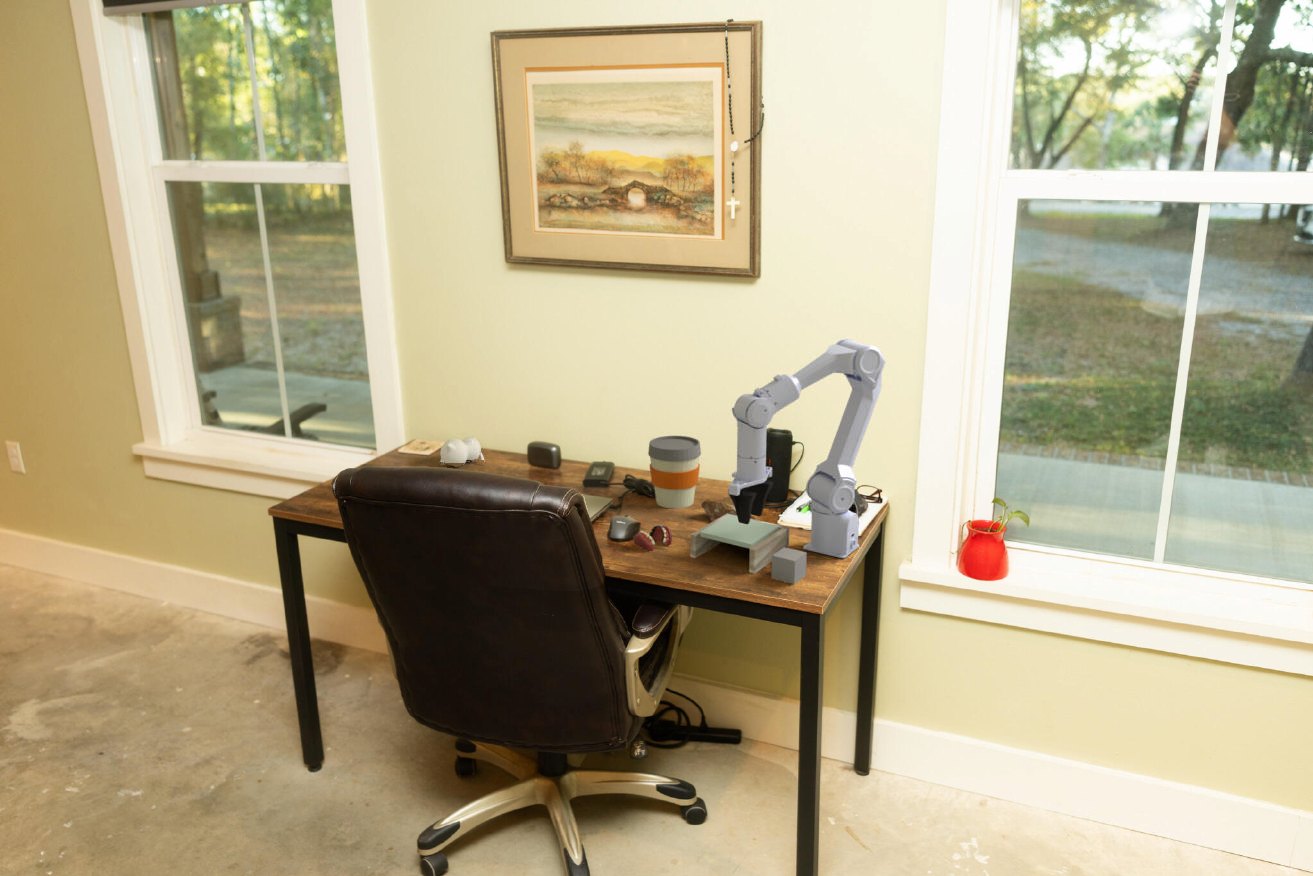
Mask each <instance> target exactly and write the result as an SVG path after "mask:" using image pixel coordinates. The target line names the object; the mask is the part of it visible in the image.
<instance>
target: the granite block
mask: <svg viewBox="0 0 1313 876" xmlns="http://www.w3.org/2000/svg"><path fill="white" fill-rule="evenodd" d="M807 554H808V553H807V552H806V551H802V550H798V549H793V548H790V547H789V548H785V547H784V548H782V549H781V550H779V551H778V552H776V553H775V554H773V555H772V562H771V576H770V577H771V580H775V579H777V580H776V581H779V580H780V581H779V582H782V581H785V582H784V583H786V582H787V583H788V584H790V583H793V584H792V585H796V584H797V583H798V582H800V581H801V580H802V579H803V577H804V578H805V577H806V576H807ZM800 579H801V580H800ZM799 580H800V581H799ZM796 582H797V583H796ZM795 583H796V584H795Z"/></svg>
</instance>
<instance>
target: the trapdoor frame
mask: <svg viewBox="0 0 1313 876" xmlns="http://www.w3.org/2000/svg"><path fill="white" fill-rule="evenodd" d="M729 515H732V514H725V515H724V516H722V517H720V518H718V519H717V520H715V521H713V522H712V521H711V522H709V523H708V524H706V525H705V526H703V527H701V528H699V529H697V530H696V531H694V532H692V533H691V534H690V536H689V537H690V539H689V540H690V544H689V545H690V547H689V548H690V558H694V559H696V558H698V557H699V556H701V555H703V554H704V552H705V553H706V552H708V551H709V550H711V549H713V548H714V547H716V546H717V545H720V544H721V543H722V542H721V541H717V540H712V539H708V538H704V537H700V532H701V531H703V530H704V529H706V528H708V527H710V526H711V525H713V524H715V523H717V522H718V521H720V520H722V519H723V518H725V517H727V516H729ZM733 516H736V515H733ZM750 520H754V519H750ZM755 521H759V522H764V523H768V524H773V525H777V526H779V530H778V531H776V532H775V533H773V534H772V535H770V536H769V537H767V538H766V539H764V540H763V541H761V542H760V543H758V544H756V545H755V546H753V547H752V548H750V549H749V560H748V561H749V568H748V571H749V573H751V574H756V573H758V572H759V571H761V569H763V568H764V567H766V566H767V565H769V564H771V563H772V555H773V554H775V553H776V552H778V551H779V550H781V549H782V548H784V547H785V548H789V549H790V529H791V528H790V526H784V525H781V524H776V523H771V522H767V521H762V520H758V519H756V520H755Z"/></svg>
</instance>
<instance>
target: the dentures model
mask: <svg viewBox="0 0 1313 876" xmlns="http://www.w3.org/2000/svg"><path fill="white" fill-rule="evenodd" d="M632 539H633V543H634V545H635V544H636V546H637V545H638V546H637V547H639V546H640V548H641V547H642V548H641V549H643V550H645V549H646V550H645V551H647V550H648V551H647V552H649V551H651V552H653V551H654V549H655V545H656V543H655V541H657V542H659V543H661V542H662V543H661V544H662V545H663V546H667V547H670V546H669V545H671V546H672V542H673V541H672V540H673V535H672V530H671V529H670V528H669V527H668V526H666V525H663V526H662V525H659V524H657V525H654V526H653V528H652V529H651V530H650V531H649V533H647V532H646V531H644V530H639V532H637V534H635V535H634V536H633V538H632Z"/></svg>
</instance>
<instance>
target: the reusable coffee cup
mask: <svg viewBox="0 0 1313 876" xmlns="http://www.w3.org/2000/svg"><path fill="white" fill-rule="evenodd" d="M701 449H702V448H701V442H700V440H699V439H697V438H694V437H691V436H688V435H687V436H686V435H665V436H658V437H656V438H653V439H651V440H650V441H649V444H648V453H647V455H648V456H649V459H650V464H649V471H650V472H649V473H650V478H651V483H652V484H651V485H653V487H654V494H655V501H656V502H655V503H656V505H658V506H659V507H661V506H662V507H661V508H666V509H684V508H688V507H690V506H692V505H693V504H694V501H695V499H694V498H695V492H696V486H697V485H698V481H699V475H700V469H701V468H700V467H701V465H700V463H699V462H700V457H701V455H702V450H701Z"/></svg>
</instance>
